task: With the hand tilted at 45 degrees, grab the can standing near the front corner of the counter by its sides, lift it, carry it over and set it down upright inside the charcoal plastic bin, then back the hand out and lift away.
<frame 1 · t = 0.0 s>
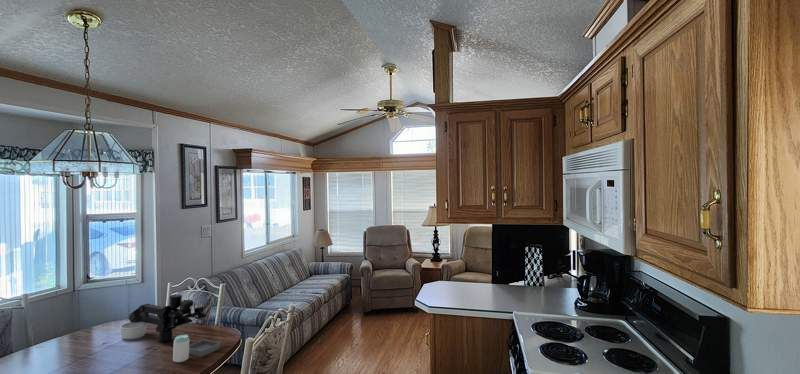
hand: (199, 318, 206), 17 cm above the table, fingers open, 9 cm apart
can: (180, 360, 190), on the table
bin: (202, 350, 203), on the table
ramekin: (133, 336, 220), on the table
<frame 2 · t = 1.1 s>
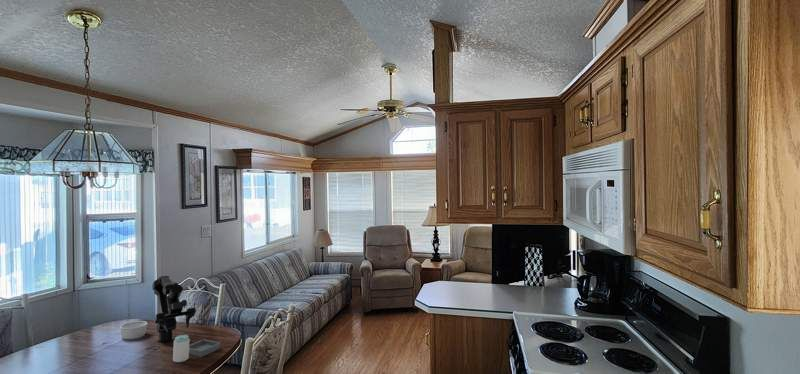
hand: (178, 329, 197), 14 cm above the table, fingers open, 9 cm apart
nothing on the table moved.
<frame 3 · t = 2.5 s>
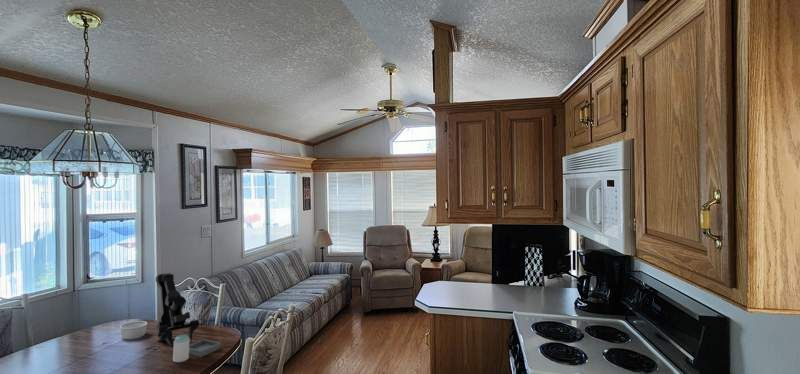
hand: (181, 342, 191), 9 cm above the table, fingers open, 9 cm apart
nothing on the table moved.
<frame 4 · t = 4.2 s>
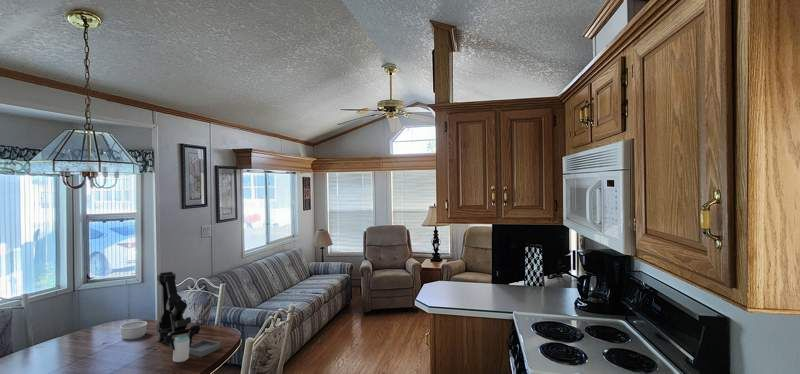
hand: (182, 348, 190), 7 cm above the table, fingers closed on can, 7 cm apart
can: (180, 360, 190), on the table, touching gripper
everything else where it was.
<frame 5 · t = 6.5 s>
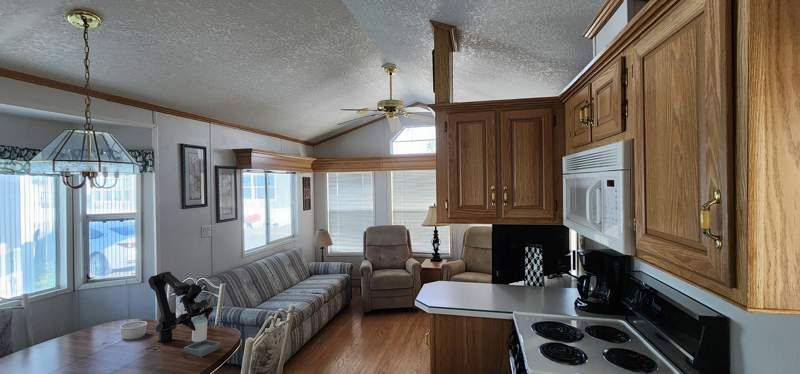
hand: (201, 328, 200), 13 cm above the table, fingers closed on can, 7 cm apart
can: (199, 340, 200), point 6 cm above the table, touching gripper
everything else where it was.
when the fingers open (9 cm above the table, at t = 8.8 s): can drops 1 cm, resting on bin.
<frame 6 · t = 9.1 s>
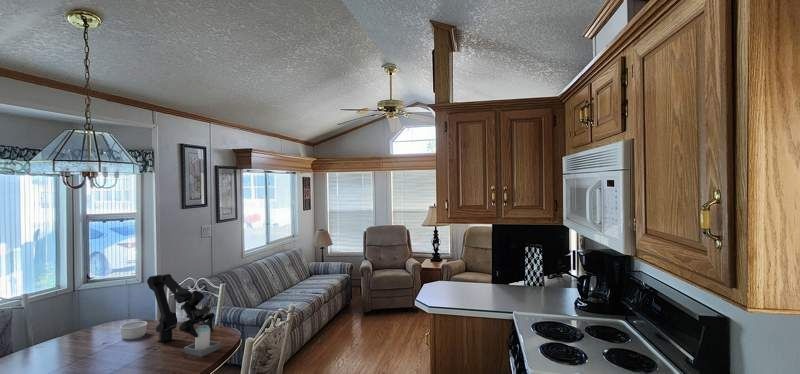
hand: (204, 334, 202), 9 cm above the table, fingers open, 9 cm apart
can: (202, 349, 203), point 1 cm above the table, touching bin
everything else where it was.
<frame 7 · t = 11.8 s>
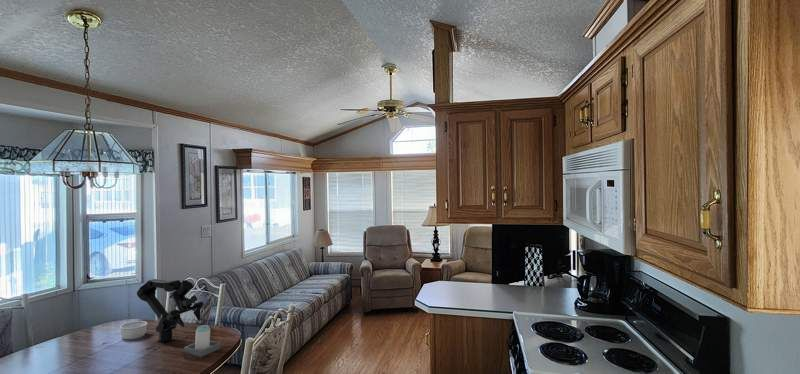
hand: (192, 323, 206), 13 cm above the table, fingers open, 9 cm apart
nothing on the table moved.
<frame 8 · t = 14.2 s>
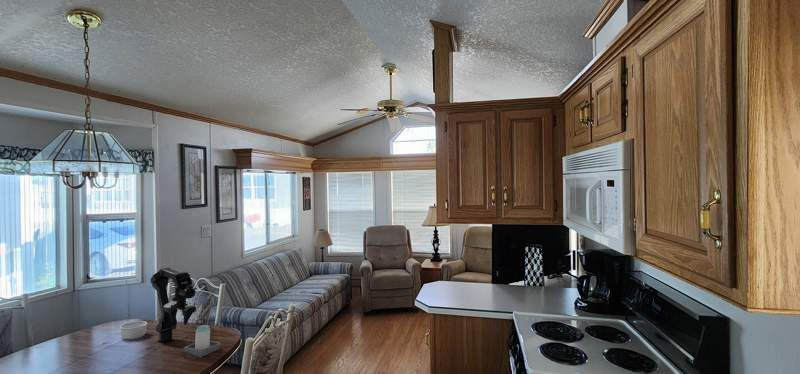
hand: (179, 323, 207), 13 cm above the table, fingers open, 9 cm apart
nothing on the table moved.
at the end: can 0.2 cm off-centre on the bin, point 0.8 cm above the bin's base; can tilted 0°; the gripper is holding nothing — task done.
